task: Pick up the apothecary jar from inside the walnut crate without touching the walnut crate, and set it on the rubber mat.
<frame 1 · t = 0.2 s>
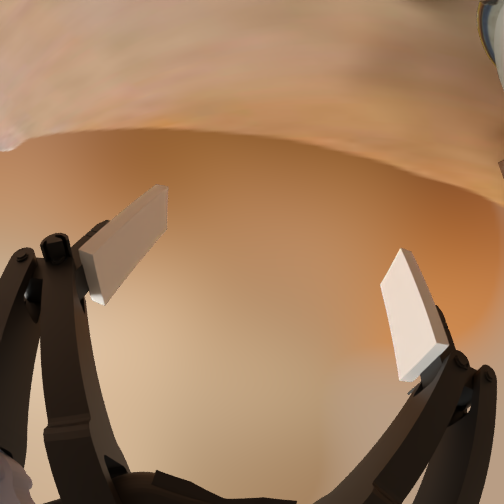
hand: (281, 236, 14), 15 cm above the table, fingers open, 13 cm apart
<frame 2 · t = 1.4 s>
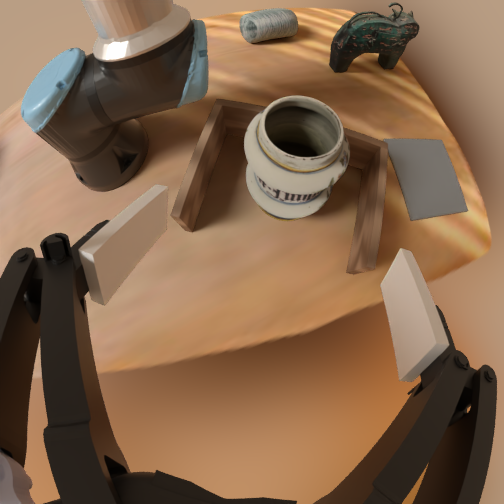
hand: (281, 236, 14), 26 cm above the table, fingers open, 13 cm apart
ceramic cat: (364, 67, 48), on the table
apothecary jar: (285, 191, 42), on the table
walnut crate: (285, 191, 42), on the table
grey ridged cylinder: (268, 37, 49), on the table
rubber mat: (428, 176, 43), on the table
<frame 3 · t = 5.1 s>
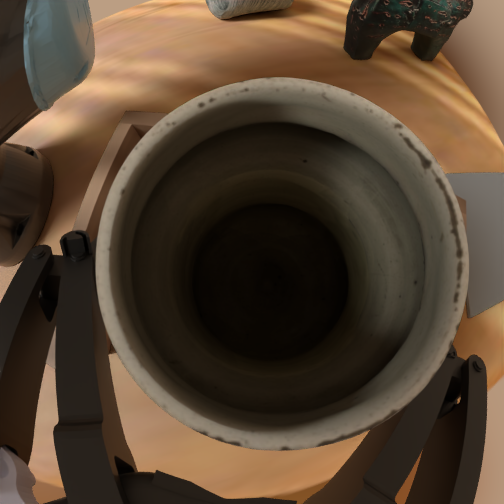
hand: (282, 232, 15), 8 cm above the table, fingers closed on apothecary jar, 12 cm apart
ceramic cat: (395, 55, 28), on the table
apothecary jar: (264, 288, 23), on the table, touching gripper
walnut crate: (264, 287, 22), on the table
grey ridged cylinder: (250, 11, 30), on the table
rubber mat: (493, 235, 23), on the table
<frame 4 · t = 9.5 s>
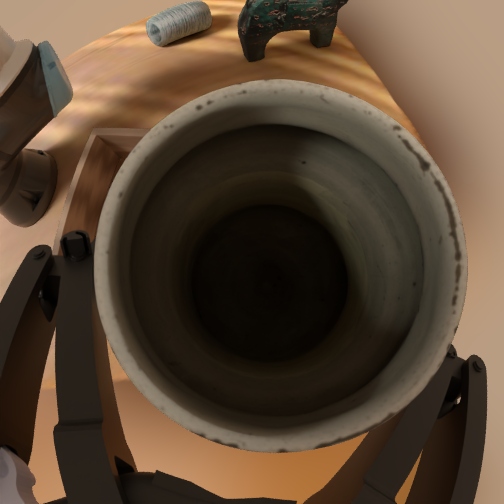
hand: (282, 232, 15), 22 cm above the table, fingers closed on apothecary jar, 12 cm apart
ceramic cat: (290, 49, 41), on the table
apothecary jar: (263, 288, 23), point 13 cm above the table, touching gripper
walnut crate: (170, 216, 37), on the table
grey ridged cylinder: (182, 35, 43), on the table
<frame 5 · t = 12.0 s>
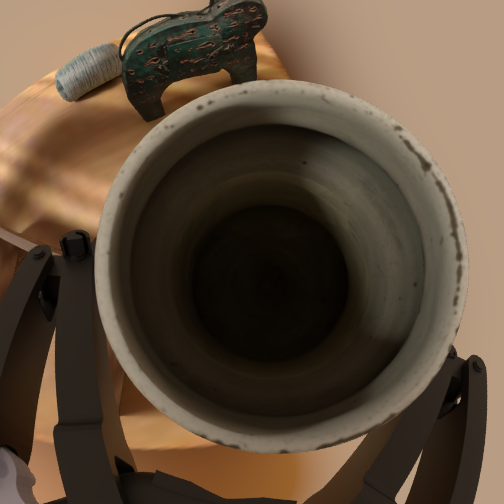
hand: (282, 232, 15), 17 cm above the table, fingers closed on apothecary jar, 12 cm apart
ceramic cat: (202, 97, 36), on the table
apothecary jar: (264, 289, 23), point 9 cm above the table, touching gripper
walnut crate: (54, 315, 31), on the table
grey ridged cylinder: (97, 84, 38), on the table
when the fingers open (10 cm above the table, at t = 14.0 s): apothecary jar stays where it is, resting on rubber mat.
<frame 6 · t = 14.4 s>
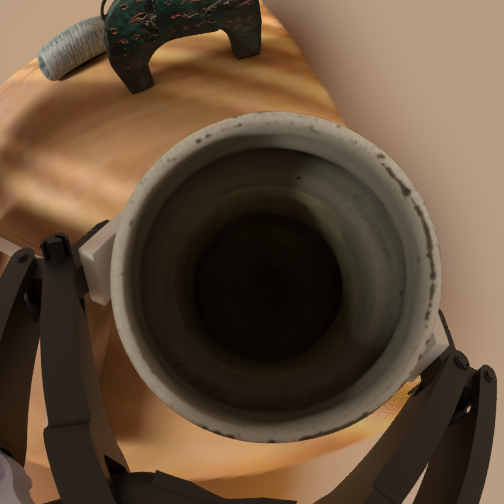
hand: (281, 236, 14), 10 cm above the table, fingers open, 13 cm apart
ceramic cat: (198, 66, 29), on the table
apothecary jar: (263, 291, 24), resting on rubber mat
walnut crate: (23, 320, 23), on the table
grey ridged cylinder: (83, 62, 31), on the table
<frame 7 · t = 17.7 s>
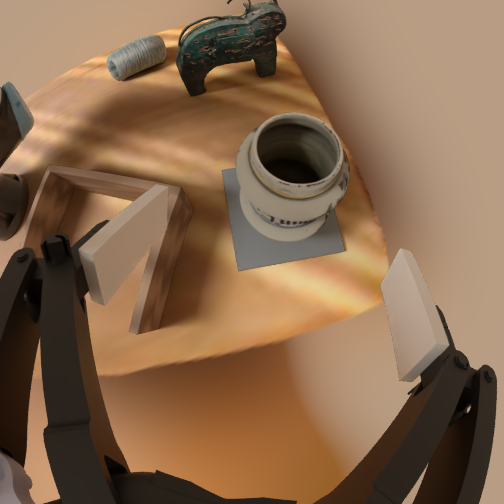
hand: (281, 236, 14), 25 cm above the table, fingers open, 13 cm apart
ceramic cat: (234, 80, 46), on the table
apothecary jar: (282, 210, 41), resting on rubber mat
walnut crate: (105, 243, 40), on the table
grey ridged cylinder: (141, 68, 48), on the table
rubber mat: (282, 209, 41), on the table
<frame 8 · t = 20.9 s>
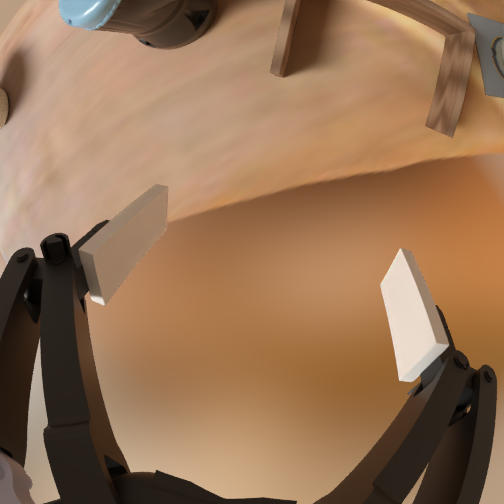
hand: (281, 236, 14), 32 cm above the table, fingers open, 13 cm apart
canister: (2, 107, 43), on the table
walnut crate: (372, 43, 29), on the table
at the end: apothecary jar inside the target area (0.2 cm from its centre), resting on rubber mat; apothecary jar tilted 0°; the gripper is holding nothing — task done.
